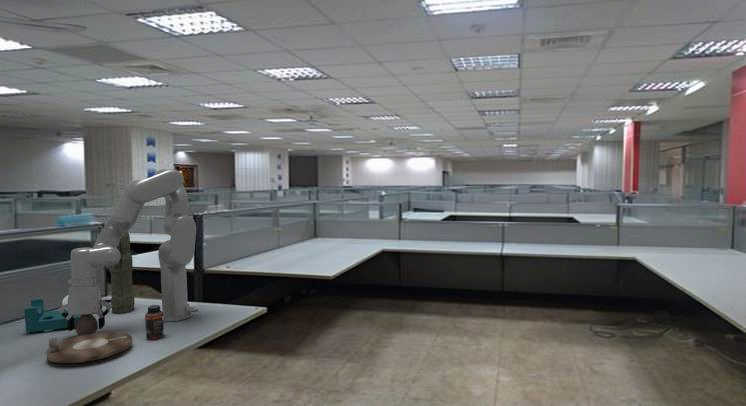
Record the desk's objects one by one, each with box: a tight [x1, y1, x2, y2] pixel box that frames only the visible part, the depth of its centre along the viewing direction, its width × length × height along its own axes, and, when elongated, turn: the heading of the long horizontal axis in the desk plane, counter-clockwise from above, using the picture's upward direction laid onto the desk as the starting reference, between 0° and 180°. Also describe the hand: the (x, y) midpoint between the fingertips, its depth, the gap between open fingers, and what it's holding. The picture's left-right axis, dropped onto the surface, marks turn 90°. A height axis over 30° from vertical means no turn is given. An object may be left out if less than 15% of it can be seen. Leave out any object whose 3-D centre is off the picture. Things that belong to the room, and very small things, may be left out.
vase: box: [74, 314, 99, 336], centre depth 172 cm, size 7×7×9 cm
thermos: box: [108, 230, 135, 315], centre depth 202 cm, size 9×12×35 cm
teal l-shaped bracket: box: [23, 298, 81, 334], centre depth 182 cm, size 18×11×10 cm, turn 113°
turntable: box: [45, 331, 133, 364], centre depth 155 cm, size 24×24×6 cm
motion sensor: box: [61, 294, 68, 310], centre depth 204 cm, size 8×8×8 cm
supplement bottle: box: [144, 304, 165, 341], centre depth 169 cm, size 6×6×11 cm
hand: (86, 328), depth 172 cm, fingers open, 9 cm apart
